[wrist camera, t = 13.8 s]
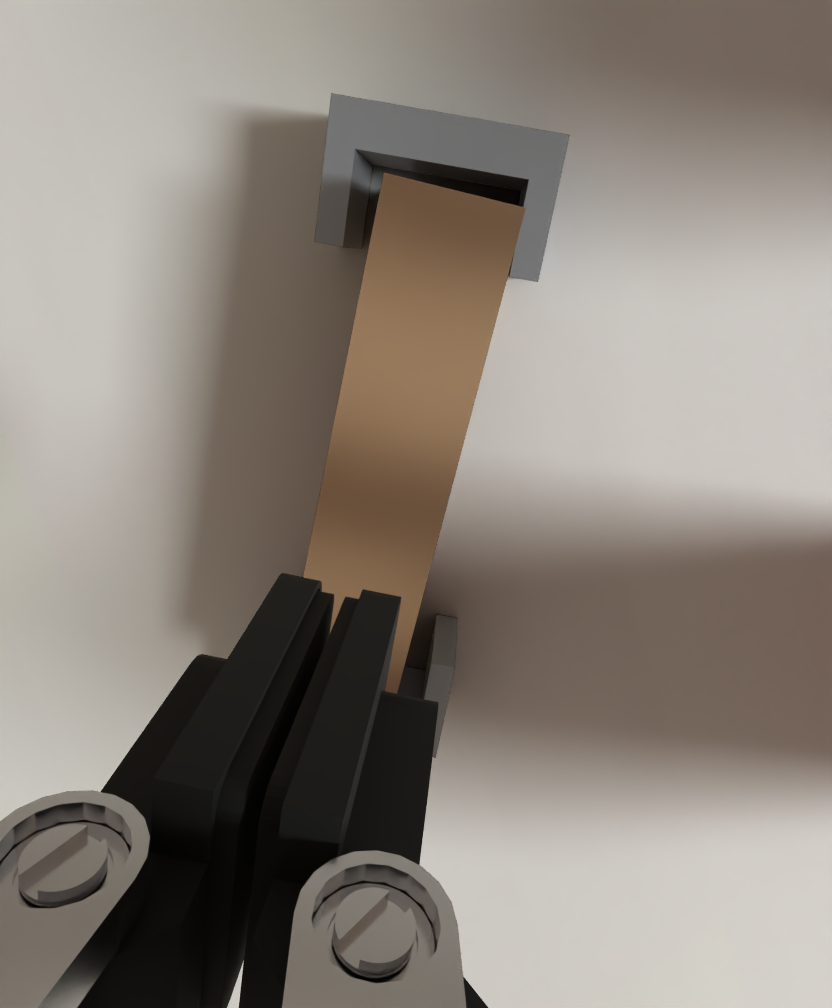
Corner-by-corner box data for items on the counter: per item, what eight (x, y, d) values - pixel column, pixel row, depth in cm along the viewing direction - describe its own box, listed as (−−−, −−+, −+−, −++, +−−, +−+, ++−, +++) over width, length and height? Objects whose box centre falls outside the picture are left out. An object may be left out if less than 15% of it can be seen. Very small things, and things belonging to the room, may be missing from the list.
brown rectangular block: (406, 192, 23) (383, 172, 17) (513, 219, 23) (525, 207, 17) (314, 625, 28) (274, 717, 23) (401, 646, 28) (383, 744, 23)
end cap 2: (440, 700, 29) (435, 757, 25) (284, 670, 29) (260, 724, 25) (457, 618, 27) (454, 668, 24) (294, 587, 27) (270, 633, 24)
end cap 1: (352, 117, 22) (331, 93, 19) (555, 153, 22) (569, 135, 19) (337, 244, 23) (314, 242, 20) (529, 278, 23) (537, 281, 20)
